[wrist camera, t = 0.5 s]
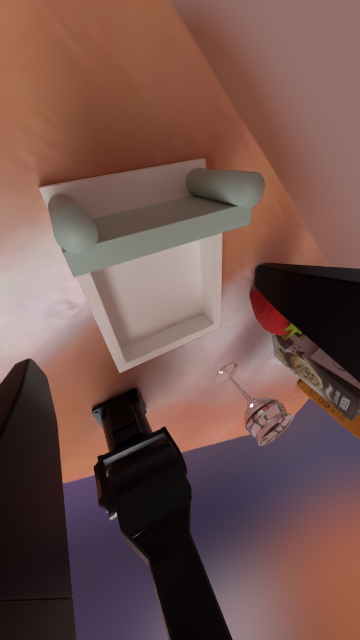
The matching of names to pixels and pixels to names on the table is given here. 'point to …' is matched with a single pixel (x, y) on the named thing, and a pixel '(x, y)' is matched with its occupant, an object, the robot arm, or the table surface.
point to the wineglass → (259, 411)
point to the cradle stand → (151, 250)
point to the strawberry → (270, 316)
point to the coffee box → (319, 372)
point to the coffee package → (331, 409)
